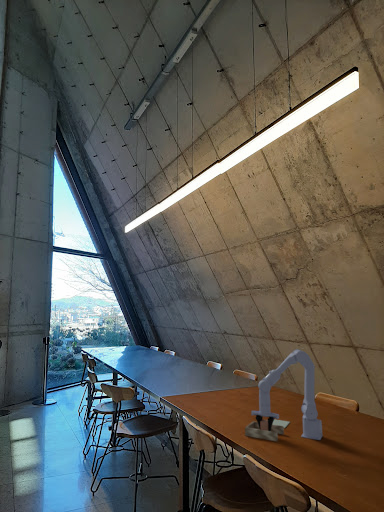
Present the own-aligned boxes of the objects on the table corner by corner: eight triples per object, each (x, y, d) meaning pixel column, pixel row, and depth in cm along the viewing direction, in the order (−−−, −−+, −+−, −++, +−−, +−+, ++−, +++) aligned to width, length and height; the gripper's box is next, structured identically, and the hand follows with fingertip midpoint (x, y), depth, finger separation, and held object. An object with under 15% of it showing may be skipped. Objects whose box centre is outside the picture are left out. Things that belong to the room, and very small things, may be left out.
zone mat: (289, 422, 209) (289, 421, 209) (284, 428, 199) (284, 427, 199) (269, 419, 215) (269, 418, 215) (263, 424, 205) (263, 424, 205)
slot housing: (283, 434, 190) (283, 426, 190) (277, 441, 179) (277, 432, 179) (253, 428, 198) (252, 421, 198) (245, 435, 187) (245, 427, 187)
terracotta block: (270, 434, 189) (269, 420, 190) (268, 436, 185) (267, 422, 186) (263, 433, 191) (262, 419, 192) (260, 435, 187) (260, 421, 188)
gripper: (280, 404, 190) (281, 431, 188) (254, 400, 197) (254, 426, 195) (276, 407, 184) (277, 435, 182) (249, 403, 191) (250, 430, 189)
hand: (265, 431), depth 188 cm, fingers closed on terracotta block, 4 cm apart
